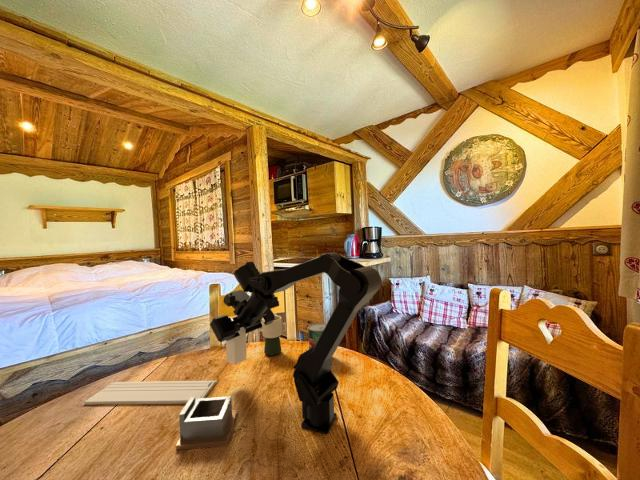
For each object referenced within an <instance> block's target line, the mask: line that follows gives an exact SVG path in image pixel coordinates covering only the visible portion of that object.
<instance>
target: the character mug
mask: <svg viewBox="0 0 640 480" xmlns="http://www.w3.org/2000/svg"><path fill="white" fill-rule="evenodd" d="M274 315H275V320H274V321H273V322H272V323H271V324H268V325H265V324H264V322H265V320H264V318H263V317H262V319H261V324H262V327H261V328H259V329H257V331H258V332H262V336H263V338H265V340H264V349H263V350H264V351H263V352H264V354H265V355H267V356H275V355H278V354H279V353H281V352H282V345H281V344H282V343H281V339H280V336H281V335H282V333H286V332H287V331H288V328H287V327H288V326H287V322H282V319H283V318H282V316H280V315H276V314H274Z"/></svg>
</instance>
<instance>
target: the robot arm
mask: <svg viewBox="0 0 640 480" xmlns="http://www.w3.org/2000/svg"><path fill="white" fill-rule="evenodd" d="M321 274H326V275H327V276H328V277H329V278H330V280H331V282H333V283H334V284H335V285H336V286H338V287H339V289H338V301H337V305H336V307H335V308H334V310H333V312H332V314H331V315H330V318H329V320H328V321H327V323H326V324H327V325H326V327H325V328H324V330H323V332H322V334H321V336H320V338H319V340H318V342H317V343H316V345H315V346H314V347H312V348H311V349H309V348H308V350H305V351H304V352H302V353H300V354H299V356H298V358H297V362H296V364H295V365H294V366H292V368H293V369H294V370H293V373H292V377H293V381H294V386H295V389H296V394H297V396H298V400H299V401H300V402H301V407H302V408H301V409H302V410H301V411H302V414H301V417H302V419H303V420H302V422H301V425H300V426H301V427H302V428H304V429H308V430H311V431H315V432H318V433H322V434H325V435H326V434H329V433H330V430H331V429H332V426H333V425H334V422H335V421H336V418H337V417H338V414H337V413H336V412H335V397H334V395H335V394H334V391H336V390H337V389H338V386H339V383H340V382H339V379H337V377H336V376H335V374H334V373H333V371H332V370H331V369H332V366H333V364H332V363H333V361H332V359H333V356H334V354H335V352H336V351H337V349H338V347H339V346H340V344H341V342H342V340H343V338H344V337H345V335H346V333H347V332H348V330H349V328H350V326H351V325H352V323H353V321H354V319H355V317H356V315H357V314H358V313H359V311H360V309H362V307H363V306H364V305H366V304H367V303H368V301H370V300H371V299H372V298H373V297H374V295H376V294H377V292H378V291H379V290H380V289H381V287H382V283H383V281H382V277H381V275H380V273H379V271H378V270H377V269H376V268H374V267H372V266H365V265H364V264H361V263H360V262H357V261H354V260H352V259H350V258H347V257H345V256H343V255H342V254H340V253H338V252H335V251H334V252H333V251H332V252H325V253H322V254H321V255H319V256H317V257H314V258H312V259H309V260H306V261H303V262H301V263H299V264H295V265H293V266H290V267H288V268H282V269H276V270H275V269H274V270H270V271H264V272H260V271H259V270H258V268H257V266H256V265H255V262H254V261H247V262H246V263H245V264H244V265H242V266H240V267H239V268H238V267H237V269H235V270H234V272H233V276H234V279H236V281H237V282H238V285H239V286H240V287H241V289H238V290H233V291H230V292H229V293H226V294H225V296H224V297H223V304H224V305H226V307H228V308H229V307H232V308H233V314H234V315H235V316H234V317H232V318H233V321H232V320H231V319H232V318H231V317H229V316H228V315H227V314H223V315H220V316H219V315H218V316H217V317H213V318H212V319H211V322H210V323H209V326H210V327H211V330H212V332H213V334H214V335H215V337H216V339H217V341H218V342H219V343H222V342H226V340H227V341H229V340H231V339H233V338H236V337H238V336H240V334H239V333H238V331H240V328H242V327H244V329H246V335H247V334H250V333H252V332H254V331H256V330H258V329H259V328H260V329H262V324H261V323H262V319H263V318H264V320H265V322H264V324H265V325H268V324H271V323H272V322H273V321H274V320H275V315H276V314H274V312H273V311H272V309H274V308H278V307H279V306H280V301H279V299H278V296H276V295H275V294H278V293H281V292H284V291H286V290H288V289H291V288H292V287H293V286H294V285H296V283H298V282H300V281H303V280H307V279H309V278H313V277H316V276H319V275H321ZM248 293H251V294H250V295H249V294H248Z"/></svg>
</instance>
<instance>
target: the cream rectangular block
mask: <svg viewBox="0 0 640 480" xmlns="http://www.w3.org/2000/svg"><path fill="white" fill-rule="evenodd" d="M233 318H234V317H232V318H231V320H232V321H233ZM238 333H239V334H240V336H238V337H236V338H233V339H231V340H229V341H227V340H225V349H226V350H225V351H226V353H225V354H226V362H227V363H230V364H232V365H234V366H236V365H238V364H241V363H242V362H244V361H246V360H247V336H246V335H247V334H246V329H244V327H242V328H240V331H238Z"/></svg>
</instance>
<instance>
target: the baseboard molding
mask: <svg viewBox="0 0 640 480" xmlns="http://www.w3.org/2000/svg"><path fill="white" fill-rule="evenodd" d="M218 379H220V377H219V376H217V380H215V378H214V379H213V380H170V381H169V380H166V381H165V380H160V381H158V380H156V381H154V380H153V381H151V380H150V381H115V382H110V383H109V384H108V385H107V386H105V387H104V388H103V389H101V390H99V391H98V392H97V393H95V394H93V395H92V396H90V397H89V398H87V399H86V400H85V401H83V404H84V406H86V405H89V406H90V405H91V406H92V405H95V406H96V405H97V404H98V406H99V405H100V404H105V405H167V404H168V405H171V404H172V405H174V404H175V405H182V404H185V405H186V404H187V402H188V401H189V399H190V398H191V397H195V401H196V399H200V398H207V396H208V395H209V393H210V392H211V391H212V390H213V388H214V387H215V385H217V383H218ZM100 406H101V405H100Z"/></svg>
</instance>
